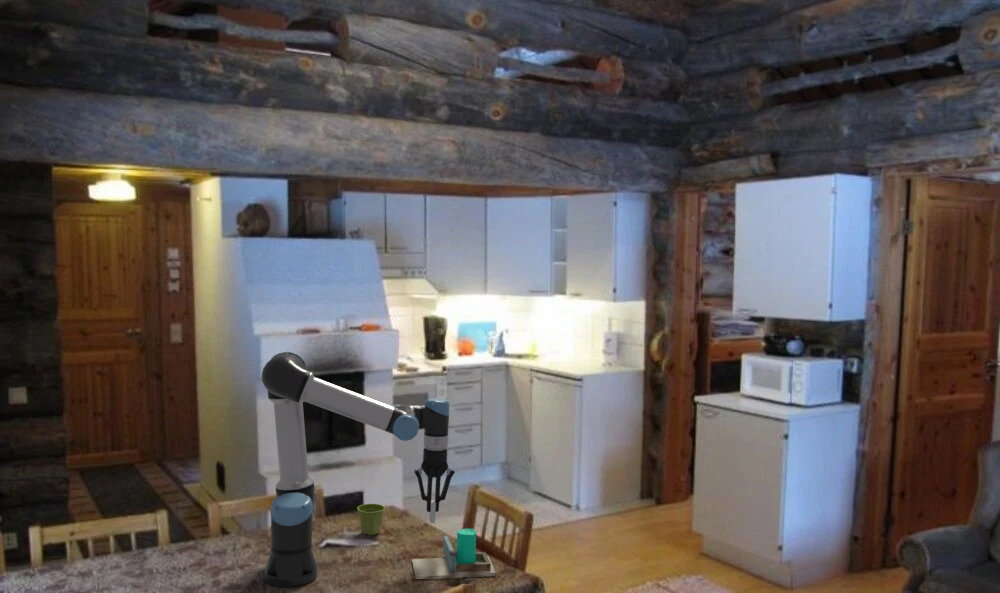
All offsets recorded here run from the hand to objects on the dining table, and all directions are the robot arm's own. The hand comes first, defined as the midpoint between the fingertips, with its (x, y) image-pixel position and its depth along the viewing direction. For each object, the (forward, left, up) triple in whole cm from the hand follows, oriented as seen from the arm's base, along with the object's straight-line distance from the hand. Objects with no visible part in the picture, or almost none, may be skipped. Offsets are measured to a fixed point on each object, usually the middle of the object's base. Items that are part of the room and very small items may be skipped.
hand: (432, 521), depth 258 cm
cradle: (+5, -12, -11) cm, 17 cm away
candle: (+9, -12, -10) cm, 18 cm away
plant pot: (-19, +24, -11) cm, 33 cm away
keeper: (+5, -9, -10) cm, 14 cm away
